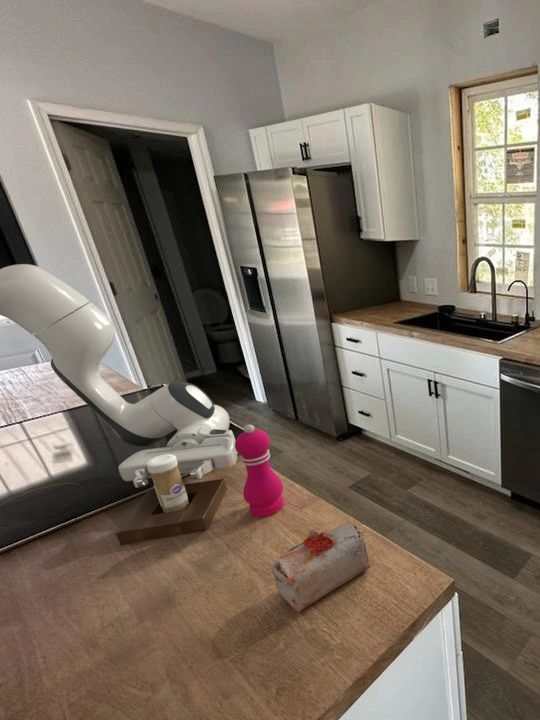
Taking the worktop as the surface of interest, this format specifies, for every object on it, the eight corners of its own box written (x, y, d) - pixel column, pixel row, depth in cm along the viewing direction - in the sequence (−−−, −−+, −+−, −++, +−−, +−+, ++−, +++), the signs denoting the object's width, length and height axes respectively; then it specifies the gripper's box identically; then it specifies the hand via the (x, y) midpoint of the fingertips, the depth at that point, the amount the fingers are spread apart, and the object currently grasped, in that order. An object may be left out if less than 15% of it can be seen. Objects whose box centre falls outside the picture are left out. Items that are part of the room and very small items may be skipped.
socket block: (120, 545, 77) (114, 532, 76) (153, 500, 90) (149, 489, 89) (207, 530, 82) (203, 518, 81) (227, 489, 94) (224, 478, 93)
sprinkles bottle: (179, 522, 83) (161, 466, 79) (159, 521, 84) (139, 464, 79) (198, 508, 88) (181, 453, 83) (178, 506, 88) (160, 452, 83)
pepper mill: (251, 501, 90) (231, 419, 83) (288, 494, 93) (271, 415, 85) (244, 522, 84) (222, 436, 77) (284, 514, 86) (266, 430, 79)
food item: (294, 622, 64) (283, 574, 60) (274, 592, 68) (263, 546, 65) (374, 571, 73) (368, 527, 69) (352, 549, 78) (345, 506, 74)
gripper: (133, 441, 90) (97, 475, 78) (239, 429, 97) (221, 459, 84) (141, 465, 93) (108, 502, 81) (245, 452, 99) (228, 484, 87)
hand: (167, 480), depth 83 cm, fingers open, 8 cm apart
